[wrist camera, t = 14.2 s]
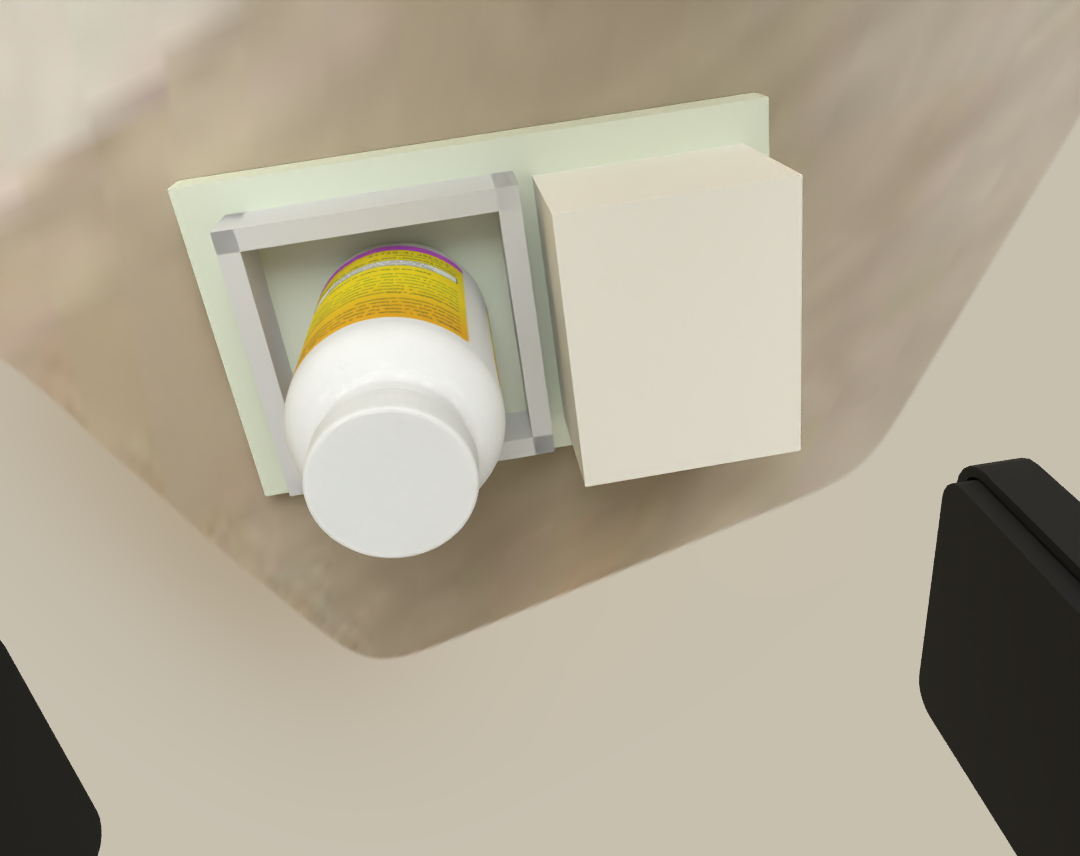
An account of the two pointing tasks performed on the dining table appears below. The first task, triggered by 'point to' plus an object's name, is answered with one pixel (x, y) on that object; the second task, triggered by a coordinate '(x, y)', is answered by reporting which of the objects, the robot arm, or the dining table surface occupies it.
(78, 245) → the dining table surface
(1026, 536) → the robot arm
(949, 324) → the dining table surface
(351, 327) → the supplement bottle
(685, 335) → the square frame tray
